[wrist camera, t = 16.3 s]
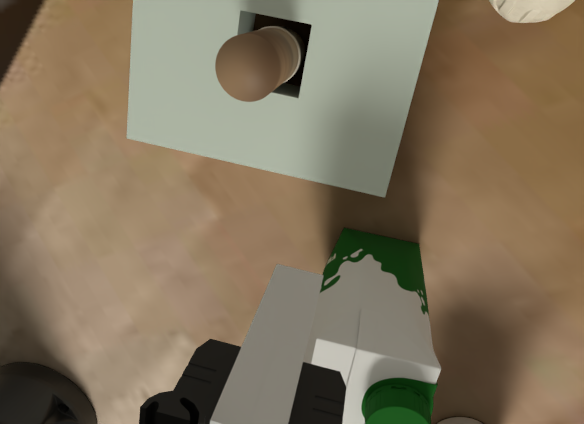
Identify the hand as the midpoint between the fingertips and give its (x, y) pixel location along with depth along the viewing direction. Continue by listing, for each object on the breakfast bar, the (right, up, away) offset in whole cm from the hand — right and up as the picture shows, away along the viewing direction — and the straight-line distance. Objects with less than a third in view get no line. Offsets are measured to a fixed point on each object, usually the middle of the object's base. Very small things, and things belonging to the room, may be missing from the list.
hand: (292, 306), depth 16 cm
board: (-1, +17, +27) cm, 31 cm away
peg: (-1, +17, +27) cm, 31 cm away
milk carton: (+8, -2, +33) cm, 34 cm away
